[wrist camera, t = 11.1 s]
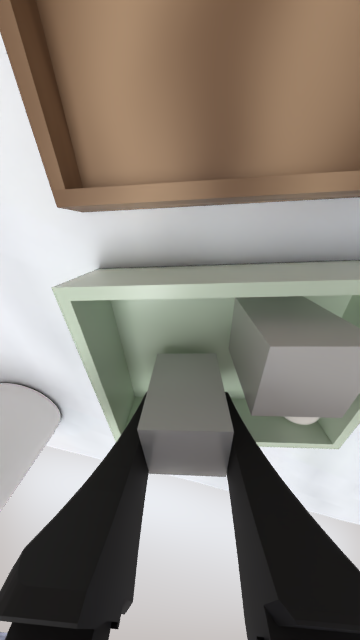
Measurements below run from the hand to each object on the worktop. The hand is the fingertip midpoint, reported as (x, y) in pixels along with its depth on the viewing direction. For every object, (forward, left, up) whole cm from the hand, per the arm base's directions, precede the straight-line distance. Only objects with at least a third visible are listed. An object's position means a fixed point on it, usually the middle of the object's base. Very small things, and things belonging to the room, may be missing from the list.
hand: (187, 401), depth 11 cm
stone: (0, 0, -2) cm, 2 cm away
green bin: (-2, -2, -3) cm, 5 cm away
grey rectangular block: (-5, -4, -3) cm, 7 cm away
